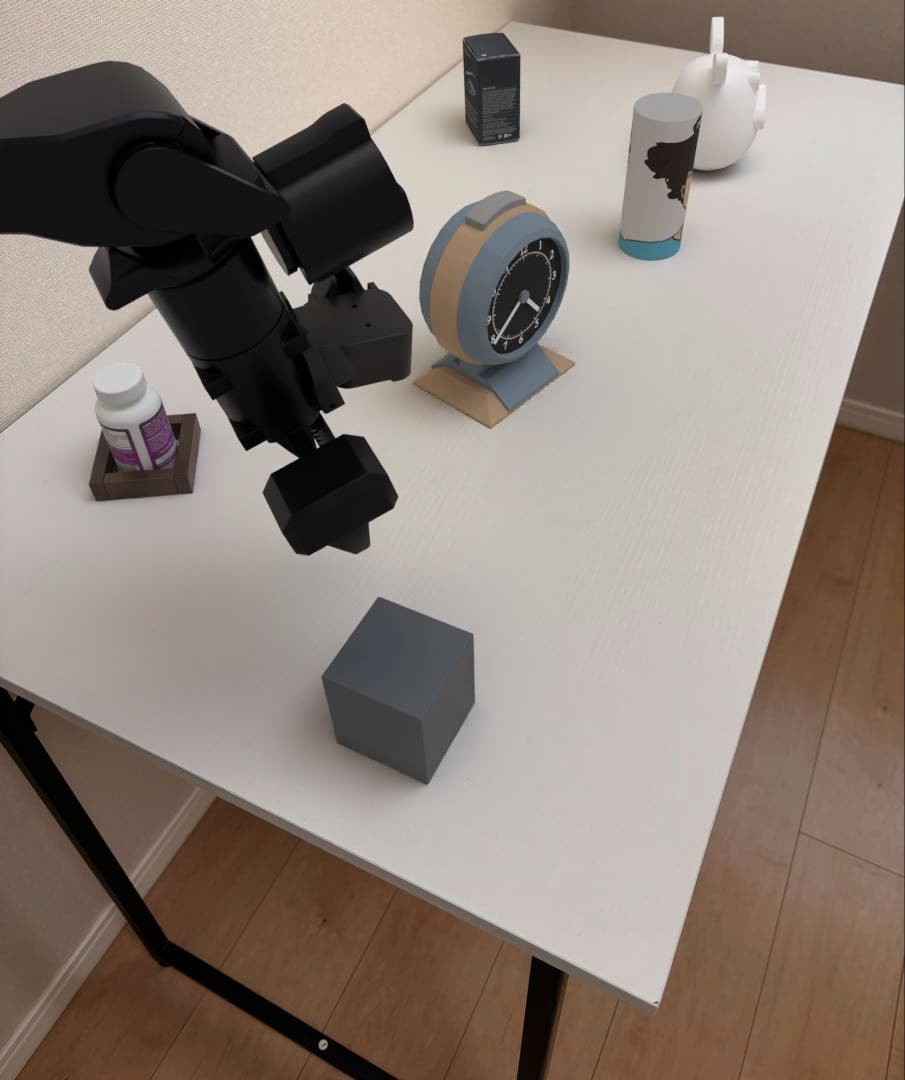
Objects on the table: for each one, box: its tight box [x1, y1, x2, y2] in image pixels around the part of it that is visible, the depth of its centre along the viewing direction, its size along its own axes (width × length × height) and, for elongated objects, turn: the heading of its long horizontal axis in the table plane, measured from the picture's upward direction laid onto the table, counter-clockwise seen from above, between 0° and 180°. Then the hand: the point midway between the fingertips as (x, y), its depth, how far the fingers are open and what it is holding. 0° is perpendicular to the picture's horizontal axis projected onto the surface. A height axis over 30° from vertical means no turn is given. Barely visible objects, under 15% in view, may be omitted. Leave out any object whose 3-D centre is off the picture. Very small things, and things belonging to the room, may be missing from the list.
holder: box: [88, 412, 202, 502], centre depth 82 cm, size 8×8×2 cm
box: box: [462, 32, 522, 146], centre depth 120 cm, size 8×6×11 cm
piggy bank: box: [670, 16, 768, 171], centre depth 110 cm, size 12×12×15 cm
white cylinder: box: [618, 91, 703, 261], centre depth 99 cm, size 7×7×15 cm
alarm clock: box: [412, 190, 576, 429], centre depth 83 cm, size 14×10×18 cm
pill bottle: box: [92, 361, 178, 473], centre depth 79 cm, size 5×5×10 cm
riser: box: [321, 596, 476, 785], centre depth 61 cm, size 7×7×8 cm
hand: (335, 501), depth 61 cm, fingers open, 9 cm apart
